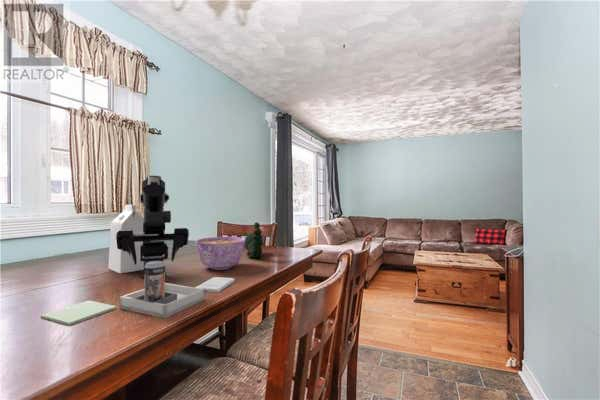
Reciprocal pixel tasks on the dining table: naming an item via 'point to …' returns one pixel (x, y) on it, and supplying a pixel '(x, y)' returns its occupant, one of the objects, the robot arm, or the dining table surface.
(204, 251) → the bowl of food
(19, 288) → the dining table surface
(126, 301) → the shallow light grey tray
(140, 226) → the milk
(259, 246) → the toy figurine
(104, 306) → the sage mat
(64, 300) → the dining table surface
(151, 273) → the beer can
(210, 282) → the external hard drive
